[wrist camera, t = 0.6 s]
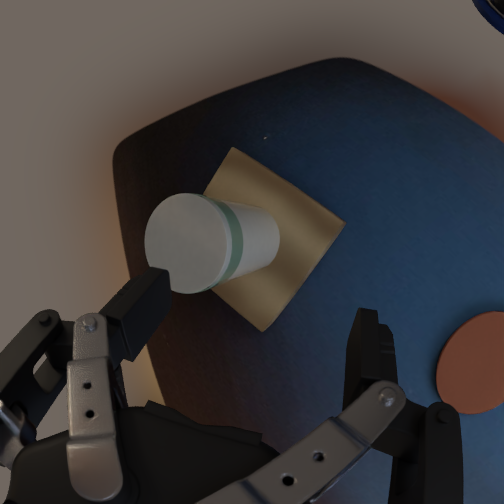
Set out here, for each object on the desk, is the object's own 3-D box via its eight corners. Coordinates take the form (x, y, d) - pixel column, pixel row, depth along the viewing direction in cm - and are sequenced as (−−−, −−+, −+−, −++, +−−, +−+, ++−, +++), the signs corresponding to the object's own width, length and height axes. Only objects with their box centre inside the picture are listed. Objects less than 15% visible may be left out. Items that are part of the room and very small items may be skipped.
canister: (239, 190, 28) (172, 173, 19) (294, 230, 26) (248, 231, 17) (204, 246, 30) (130, 254, 20) (254, 287, 28) (194, 315, 19)
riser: (245, 153, 31) (232, 146, 28) (346, 222, 27) (343, 221, 25) (185, 250, 34) (169, 252, 31) (272, 323, 31) (262, 332, 28)
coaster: (486, 287, 23) (488, 288, 22) (544, 348, 20) (546, 350, 19) (413, 377, 26) (414, 380, 25) (476, 427, 23) (477, 429, 22)
